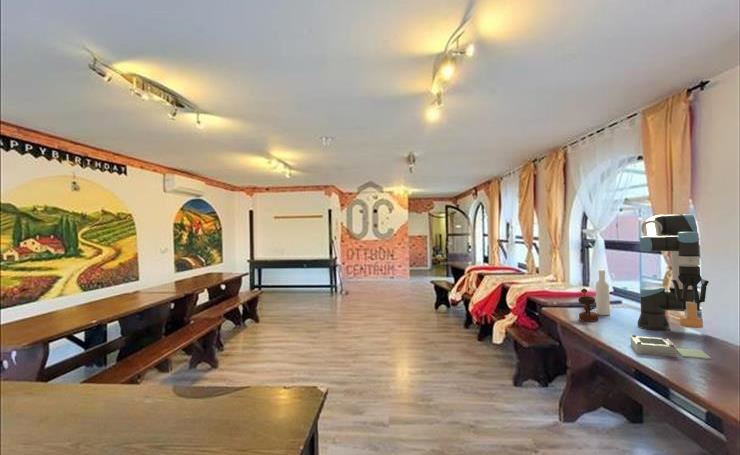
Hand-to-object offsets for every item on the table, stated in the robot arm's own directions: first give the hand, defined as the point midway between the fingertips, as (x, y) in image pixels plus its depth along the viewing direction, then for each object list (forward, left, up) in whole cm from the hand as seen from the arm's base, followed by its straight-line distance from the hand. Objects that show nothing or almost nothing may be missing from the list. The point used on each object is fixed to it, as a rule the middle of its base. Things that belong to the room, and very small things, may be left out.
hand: (691, 316), depth 178 cm
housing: (0, -15, -17) cm, 23 cm away
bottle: (-80, -27, -17) cm, 86 cm away
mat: (0, 0, -17) cm, 17 cm away
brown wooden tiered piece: (-59, -37, -17) cm, 72 cm away
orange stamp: (0, 0, -4) cm, 4 cm away
